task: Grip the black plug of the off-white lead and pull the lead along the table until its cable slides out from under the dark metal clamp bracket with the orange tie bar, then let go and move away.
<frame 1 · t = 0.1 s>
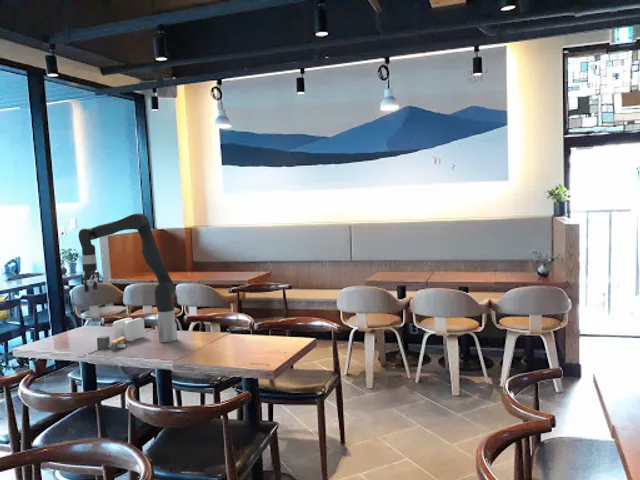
hand: (91, 290, 302), 29 cm above the table, tool pointing down, fingers open, 8 cm apart
lead: (103, 347, 286), on the table
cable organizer: (129, 339, 304), on the table
tie bracket: (119, 347, 285), on the table
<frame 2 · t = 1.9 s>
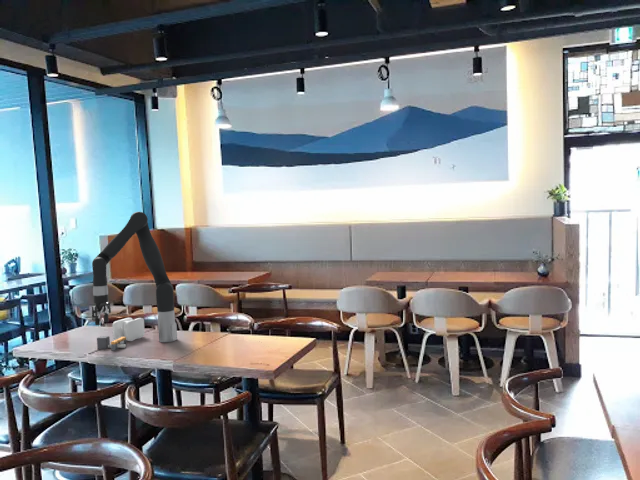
hand: (102, 323, 285), 14 cm above the table, tool pointing down, fingers open, 8 cm apart
nothing on the table moved.
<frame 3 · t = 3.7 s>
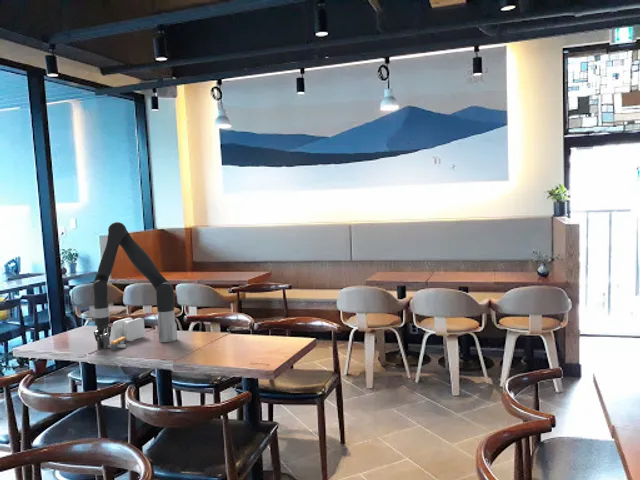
hand: (103, 346, 286), 1 cm above the table, tool pointing down, fingers closed on lead, 4 cm apart
lead: (103, 347, 286), on the table, touching gripper
everything else where it was.
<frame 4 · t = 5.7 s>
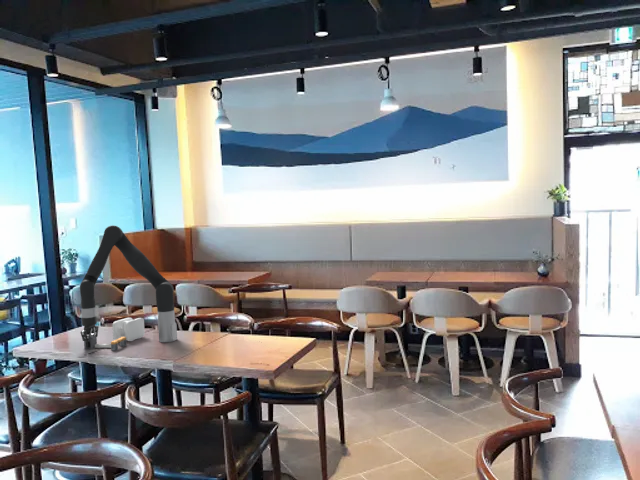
hand: (90, 346, 287), 1 cm above the table, tool pointing down, fingers closed on lead, 4 cm apart
lead: (90, 347, 287), on the table, touching gripper
everything else where it was.
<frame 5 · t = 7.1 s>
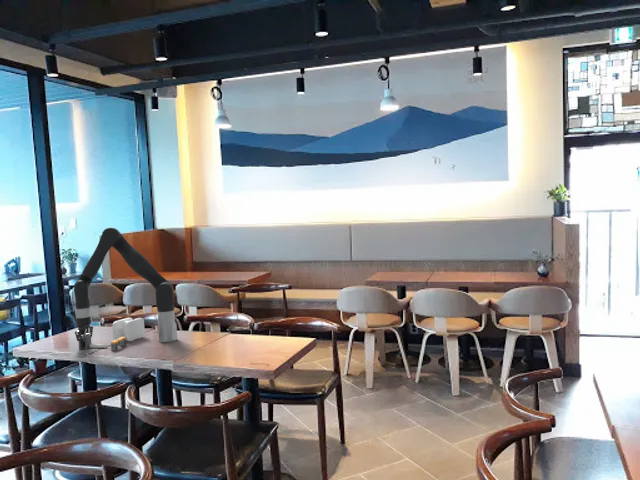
hand: (85, 346, 288), 1 cm above the table, tool pointing down, fingers closed on lead, 4 cm apart
lead: (85, 347, 288), on the table, touching gripper
everything else where it was.
when the fingers open (1 cm above the table, at t = 7.7 s): lead stays where it is, on the table.
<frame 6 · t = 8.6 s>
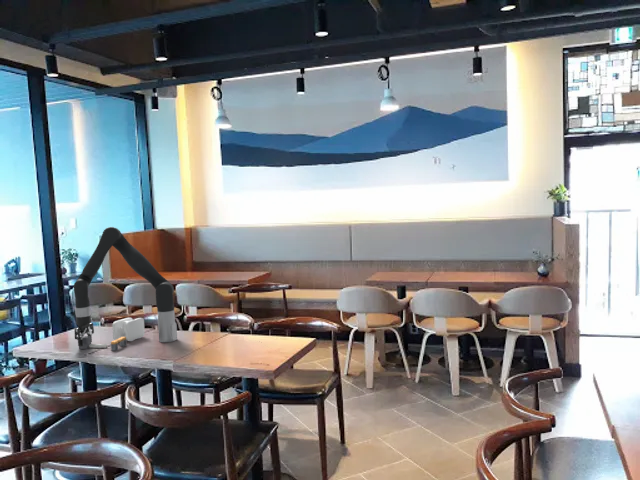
hand: (85, 344, 287), 2 cm above the table, tool pointing down, fingers open, 8 cm apart
lead: (85, 347, 288), on the table
everything else where it was.
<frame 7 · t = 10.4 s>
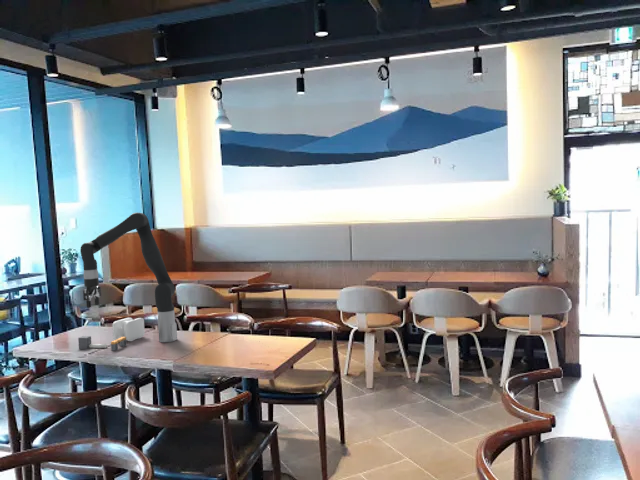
hand: (93, 306, 295), 21 cm above the table, tool pointing down, fingers open, 8 cm apart
nothing on the table moved.
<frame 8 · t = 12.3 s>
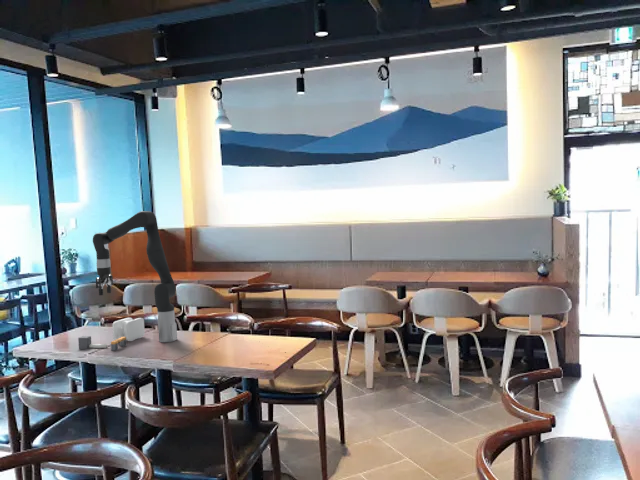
hand: (105, 294, 308), 26 cm above the table, tool pointing down, fingers open, 8 cm apart
nothing on the table moved.
at the end: lead inside the target area (0.9 cm from its centre), on the table; the gripper is holding nothing; lead tilted 0° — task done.
